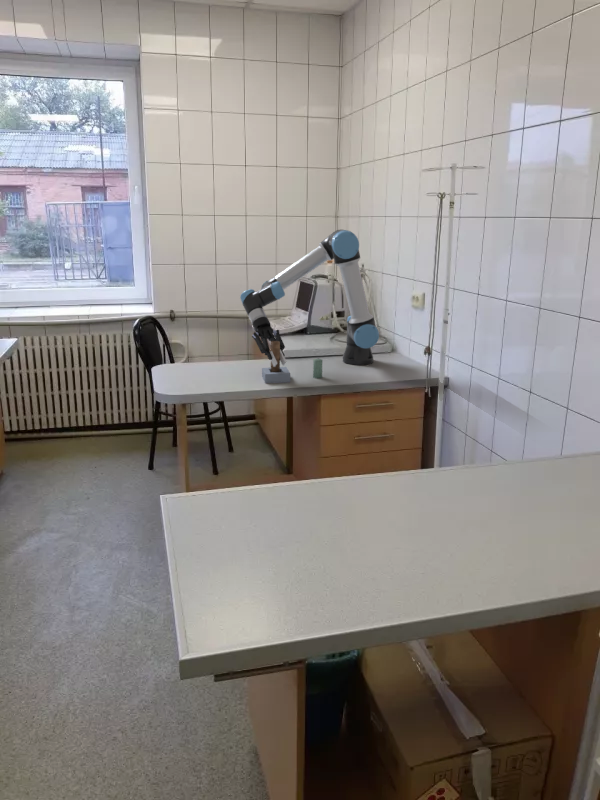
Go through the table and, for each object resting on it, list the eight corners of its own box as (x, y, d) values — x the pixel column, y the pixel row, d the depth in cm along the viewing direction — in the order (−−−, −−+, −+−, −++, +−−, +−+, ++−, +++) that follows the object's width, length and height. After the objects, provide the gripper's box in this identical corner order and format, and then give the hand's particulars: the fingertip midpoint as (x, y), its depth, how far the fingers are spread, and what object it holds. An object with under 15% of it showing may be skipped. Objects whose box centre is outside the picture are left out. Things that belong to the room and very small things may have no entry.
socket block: (286, 375, 280) (286, 366, 279) (290, 382, 270) (290, 373, 269) (262, 376, 278) (262, 367, 277) (265, 383, 268) (265, 374, 267)
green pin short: (321, 375, 280) (321, 358, 278) (322, 378, 277) (323, 360, 274) (312, 376, 280) (312, 358, 277) (314, 378, 276) (314, 361, 273)
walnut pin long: (279, 371, 276) (279, 340, 271) (280, 373, 272) (280, 342, 268) (270, 371, 275) (270, 340, 271) (271, 374, 271) (271, 342, 267)
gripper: (272, 323, 284) (292, 366, 277) (240, 327, 275) (260, 371, 267) (278, 314, 279) (299, 357, 271) (246, 317, 269) (266, 362, 261)
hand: (280, 364), depth 269 cm, fingers closed on walnut pin long, 4 cm apart
